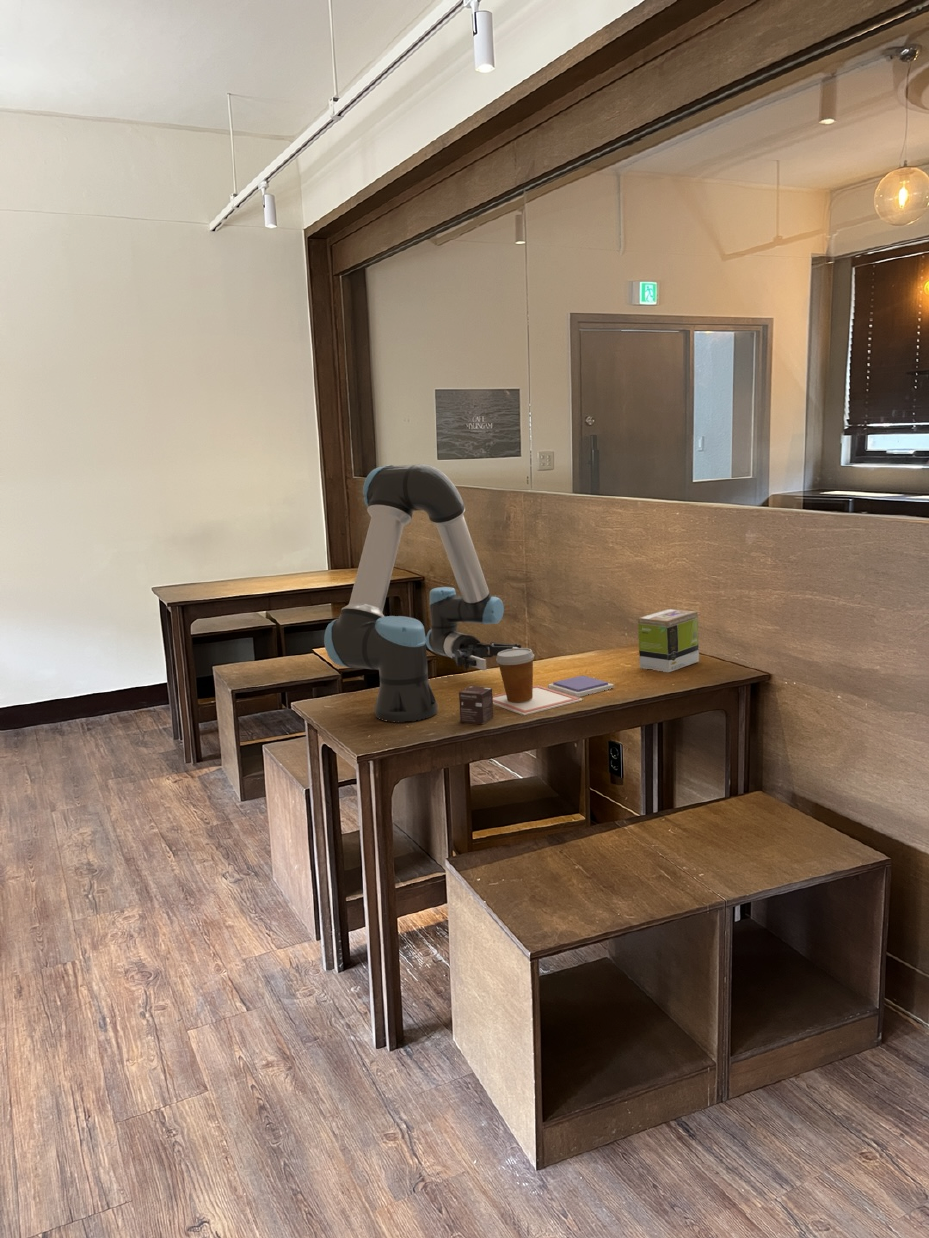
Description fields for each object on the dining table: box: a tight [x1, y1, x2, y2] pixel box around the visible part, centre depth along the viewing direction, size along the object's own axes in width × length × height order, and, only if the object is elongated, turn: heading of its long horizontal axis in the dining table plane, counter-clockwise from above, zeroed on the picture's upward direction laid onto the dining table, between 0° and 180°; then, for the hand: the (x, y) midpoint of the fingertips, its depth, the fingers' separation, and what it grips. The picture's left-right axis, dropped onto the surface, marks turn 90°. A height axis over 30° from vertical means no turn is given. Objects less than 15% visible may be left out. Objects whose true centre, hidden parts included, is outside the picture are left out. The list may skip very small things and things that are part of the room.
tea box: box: [637, 608, 700, 673], centre depth 245 cm, size 15×10×15 cm
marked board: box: [493, 684, 583, 716], centre depth 220 cm, size 18×18×1 cm
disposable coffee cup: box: [495, 647, 535, 702], centre depth 218 cm, size 10×10×12 cm
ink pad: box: [547, 674, 615, 698], centre depth 228 cm, size 12×12×2 cm
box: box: [458, 685, 494, 725], centre depth 206 cm, size 6×6×7 cm
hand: (507, 660), depth 226 cm, fingers open, 13 cm apart
